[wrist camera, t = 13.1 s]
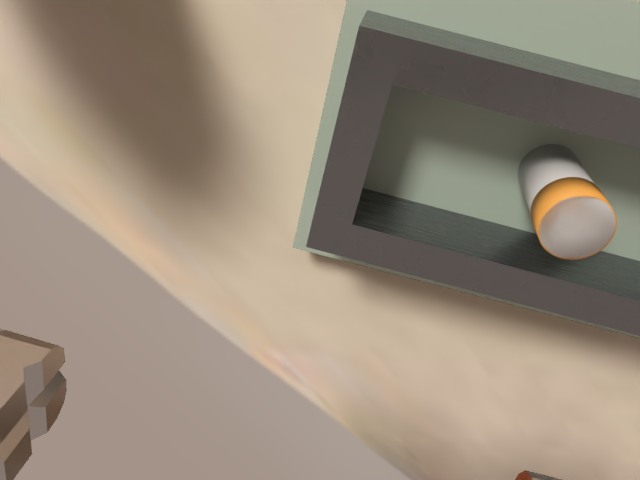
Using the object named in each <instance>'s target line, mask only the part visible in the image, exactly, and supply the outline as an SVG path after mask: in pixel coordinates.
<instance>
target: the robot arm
mask: <svg viewBox="0 0 640 480" xmlns="http://www.w3.org/2000/svg"><path fill="white" fill-rule="evenodd" d="M64 363H65V354H64V348H63V347H60V346H58V345H55V344H51V343H48V342H44V341H41V340H38V339H35V338H31V337H28V336H24V335H21V334H18V333H14V332H11V331H7V330H4V329H0V480H13V479H14V478H15V477H16V475H17V474H18V472H19V471H20V470H21V468H22V467H23V466H24V464H25V463H26V461H27V460H28V459H29V457H30V456H31V454H32V449H31V440H33V439H35V438H37V437H39V436H41V435H43V434H45V433H47V432H48V431H49V429H50V428H51V426H52V425H53V423H54V422H55V420H56V419H57V417H58V415H59V413H60V410H61V408H62V406H63V403H64V400H65V395H66V379H65V378H64V376H63V375H62V374H61V373H60V371H59V369H60V368H61V367H62V365H63V364H64ZM515 480H561V479H557V478H553V477H549V476H545V475H541V474H537V473H534V472H530V471H526V470H525V471H523V472H521V473H519V474H518V476H517V477H516V479H515Z"/></svg>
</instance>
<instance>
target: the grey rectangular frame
mask: <svg viewBox="0 0 640 480" xmlns="http://www.w3.org/2000/svg"><path fill="white" fill-rule="evenodd" d="M392 84H393V85H397V86H401V87H405V88H409V89H412V90H416V91H420V92H424V93H428V94H432V95H435V96H439V97H443V98H447V99H451V100H455V101H458V102H462V103H466V104H470V105H474V106H478V107H481V108H485V109H489V110H493V111H497V112H501V113H505V114H508V115H512V116H516V117H520V118H524V119H528V120H531V121H535V122H539V123H543V124H547V125H551V126H554V127H558V128H562V129H566V130H570V131H574V132H577V133H581V134H585V135H589V136H593V137H597V138H601V139H604V140H608V141H612V142H616V143H620V144H624V145H627V146H631V147H635V148H639V149H640V80H637V79H633V78H629V77H625V76H621V75H618V74H614V73H610V72H606V71H602V70H598V69H594V68H590V67H587V66H583V65H579V64H575V63H571V62H567V61H563V60H559V59H556V58H552V57H548V56H544V55H540V54H536V53H532V52H529V51H525V50H521V49H517V48H513V47H509V46H505V45H501V44H498V43H494V42H490V41H486V40H482V39H478V38H474V37H470V36H467V35H463V34H459V33H455V32H451V31H447V30H443V29H439V28H436V27H432V26H428V25H424V24H420V23H416V22H412V21H408V20H405V19H401V18H397V17H393V16H389V15H385V14H381V13H377V12H374V11H370V10H367V11H366V13H365V15H364V17H363V19H362V21H361V23H360V25H359V28H358V33H357V37H356V41H355V45H354V49H353V53H352V57H351V62H350V66H349V70H348V74H347V78H346V82H345V87H344V91H343V95H342V99H341V103H340V107H339V111H338V116H337V120H336V124H335V128H334V132H333V136H332V141H331V145H330V149H329V153H328V157H327V161H326V165H325V170H324V174H323V178H322V182H321V186H320V190H319V195H318V199H317V203H316V207H315V211H314V215H313V219H312V224H311V228H310V232H309V236H308V240H307V244H306V247H308V248H312V249H316V250H320V251H323V252H327V253H331V254H335V255H338V256H342V257H346V258H350V259H353V260H357V261H361V262H365V263H368V264H372V265H376V266H380V267H383V268H387V269H391V270H395V271H398V272H402V273H406V274H410V275H413V276H417V277H421V278H425V279H428V280H432V281H436V282H440V283H443V284H447V285H451V286H455V287H458V288H462V289H466V290H470V291H473V292H477V293H481V294H485V295H488V296H492V297H496V298H500V299H503V300H507V301H511V302H515V303H518V304H522V305H526V306H530V307H533V308H537V309H541V310H545V311H548V312H552V313H556V314H560V315H563V316H567V317H571V318H575V319H578V320H582V321H586V322H590V323H593V324H597V325H601V326H605V327H608V328H612V329H616V330H620V331H623V332H627V333H631V334H635V335H639V336H640V261H638V260H634V259H630V258H626V257H623V256H619V255H615V254H611V253H607V252H604V251H599V252H598V253H596V254H594V255H592V256H589V257H586V258H582V259H576V260H569V259H562V258H558V257H556V256H554V255H552V254H550V253H549V252H547V251H546V250H545V249H544V248H543V246H542V245H541V243H540V241H539V238H538V236H537V234H536V233H532V232H528V231H524V230H520V229H517V228H513V227H509V226H505V225H501V224H498V223H494V222H490V221H486V220H482V219H479V218H475V217H471V216H467V215H464V214H460V213H456V212H452V211H448V210H445V209H441V208H437V207H433V206H429V205H426V204H422V203H418V202H414V201H411V200H407V199H403V198H399V197H395V196H392V195H388V194H384V193H380V192H376V191H373V190H369V189H365V188H363V185H364V181H365V178H366V174H367V171H368V167H369V164H370V160H371V157H372V153H373V150H374V146H375V143H376V139H377V136H378V132H379V129H380V125H381V122H382V118H383V115H384V111H385V108H386V104H387V101H388V97H389V94H390V90H391V87H392Z"/></svg>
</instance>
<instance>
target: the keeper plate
mask: <svg viewBox="0 0 640 480" xmlns="http://www.w3.org/2000/svg"><path fill="white" fill-rule="evenodd" d="M367 10H370V11H374V12H377V13H381V14H385V15H389V16H393V17H397V18H401V19H405V20H408V21H412V22H416V23H420V24H424V25H428V26H432V27H436V28H439V29H443V30H447V31H451V32H455V33H459V34H463V35H467V36H470V37H474V38H478V39H482V40H486V41H490V42H494V43H498V44H501V45H505V46H509V47H513V48H517V49H521V50H525V51H529V52H532V53H536V54H540V55H544V56H548V57H552V58H556V59H559V60H563V61H567V62H571V63H575V64H579V65H583V66H587V67H590V68H594V69H598V70H602V71H606V72H610V73H614V74H618V75H621V76H625V77H629V78H633V79H637V80H640V0H347V2H346V7H345V11H344V16H343V21H342V25H341V30H340V34H339V39H338V43H337V48H336V53H335V57H334V62H333V66H332V71H331V76H330V80H329V85H328V89H327V94H326V98H325V103H324V108H323V112H322V117H321V121H320V126H319V130H318V135H317V140H316V144H315V149H314V153H313V158H312V162H311V167H310V172H309V176H308V181H307V185H306V190H305V194H304V199H303V204H302V208H301V213H300V217H299V222H298V226H297V231H296V236H295V240H294V245H293V248H297V249H300V250H304V251H308V252H312V253H316V254H319V255H323V256H327V257H331V258H335V259H339V260H342V261H346V262H350V263H354V264H358V265H362V266H365V267H369V268H373V269H377V270H381V271H385V272H388V273H392V274H396V275H400V276H404V277H408V278H411V279H415V280H419V281H423V282H427V283H431V284H434V285H438V286H442V287H446V288H450V289H453V290H457V291H461V292H465V293H469V294H473V295H476V296H480V297H484V298H488V299H492V300H496V301H499V302H503V303H507V304H511V305H515V306H519V307H522V308H526V309H530V310H534V311H538V312H542V313H545V314H549V315H553V316H557V317H561V318H565V319H568V320H572V321H576V322H580V323H584V324H587V325H591V326H595V327H599V328H603V329H607V330H610V331H614V332H618V333H622V334H626V335H630V336H633V337H637V338H640V336H639V335H635V334H631V333H627V332H623V331H620V330H616V329H612V328H608V327H605V326H601V325H597V324H593V323H590V322H586V321H582V320H578V319H575V318H571V317H567V316H563V315H560V314H556V313H552V312H548V311H545V310H541V309H537V308H533V307H530V306H526V305H522V304H518V303H515V302H511V301H507V300H503V299H500V298H496V297H492V296H488V295H485V294H481V293H477V292H473V291H470V290H466V289H462V288H458V287H455V286H451V285H447V284H443V283H440V282H436V281H432V280H428V279H425V278H421V277H417V276H413V275H410V274H406V273H402V272H398V271H395V270H391V269H387V268H383V267H380V266H376V265H372V264H368V263H365V262H361V261H357V260H353V259H350V258H346V257H342V256H338V255H335V254H331V253H327V252H323V251H320V250H316V249H312V248H308V247H306V244H307V240H308V236H309V232H310V228H311V224H312V219H313V215H314V211H315V207H316V203H317V199H318V195H319V190H320V186H321V182H322V178H323V174H324V170H325V165H326V161H327V157H328V153H329V149H330V145H331V141H332V136H333V132H334V128H335V124H336V120H337V116H338V111H339V107H340V103H341V99H342V95H343V91H344V87H345V82H346V78H347V74H348V70H349V66H350V62H351V57H352V53H353V49H354V45H355V41H356V37H357V33H358V28H359V25H360V23H361V21H362V19H363V17H364V15H365V13H366V11H367ZM363 188H365V189H369V190H373V191H376V192H380V193H384V194H388V195H392V196H395V197H399V198H403V199H407V200H411V201H414V202H418V203H422V204H426V205H429V206H433V207H437V208H441V209H445V210H448V211H452V212H456V213H460V214H464V215H467V216H471V217H475V218H479V219H482V220H486V221H490V222H494V223H498V224H501V225H505V226H509V227H513V228H517V229H520V230H524V231H528V232H532V233H536V234H537V236H538V238H539V241H540V243H541V245H542V246H543V248H544V249H545V250H546V251H547V252H549V253H550V254H552V255H554V256H556V257H558V258H562V259H569V260H576V259H582V258H586V257H589V256H592V255H594V254H596V253H598V252H599V251H604V252H607V253H611V254H615V255H619V256H623V257H626V258H630V259H634V260H638V261H640V149H639V148H635V147H631V146H627V145H624V144H620V143H616V142H612V141H608V140H604V139H601V138H597V137H593V136H589V135H585V134H581V133H577V132H574V131H570V130H566V129H562V128H558V127H554V126H551V125H547V124H543V123H539V122H535V121H531V120H528V119H524V118H520V117H516V116H512V115H508V114H505V113H501V112H497V111H493V110H489V109H485V108H481V107H478V106H474V105H470V104H466V103H462V102H458V101H455V100H451V99H447V98H443V97H439V96H435V95H432V94H428V93H424V92H420V91H416V90H412V89H409V88H405V87H401V86H397V85H393V84H392V87H391V90H390V94H389V97H388V101H387V104H386V108H385V111H384V115H383V118H382V122H381V125H380V129H379V132H378V136H377V139H376V143H375V146H374V150H373V153H372V157H371V160H370V164H369V167H368V171H367V174H366V178H365V181H364V185H363Z"/></svg>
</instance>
